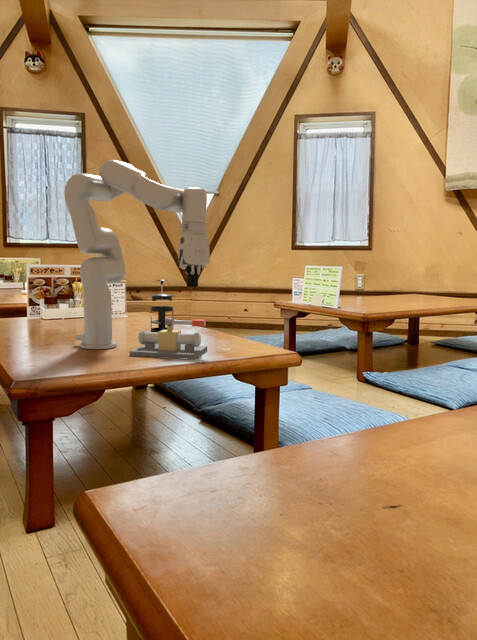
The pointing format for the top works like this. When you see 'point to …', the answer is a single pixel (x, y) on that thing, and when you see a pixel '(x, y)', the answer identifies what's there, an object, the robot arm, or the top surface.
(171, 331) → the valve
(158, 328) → the french press
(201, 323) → the lever
